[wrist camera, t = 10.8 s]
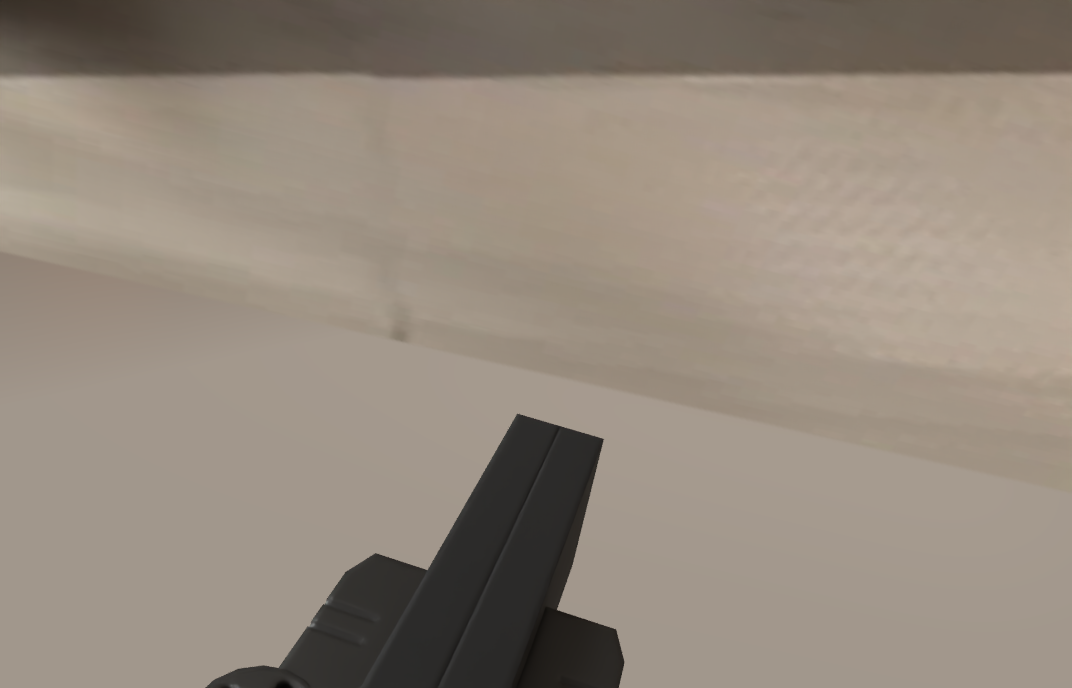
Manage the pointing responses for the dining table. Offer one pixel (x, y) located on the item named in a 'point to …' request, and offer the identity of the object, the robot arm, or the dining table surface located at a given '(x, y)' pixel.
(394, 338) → the dining table surface
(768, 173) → the dining table surface
